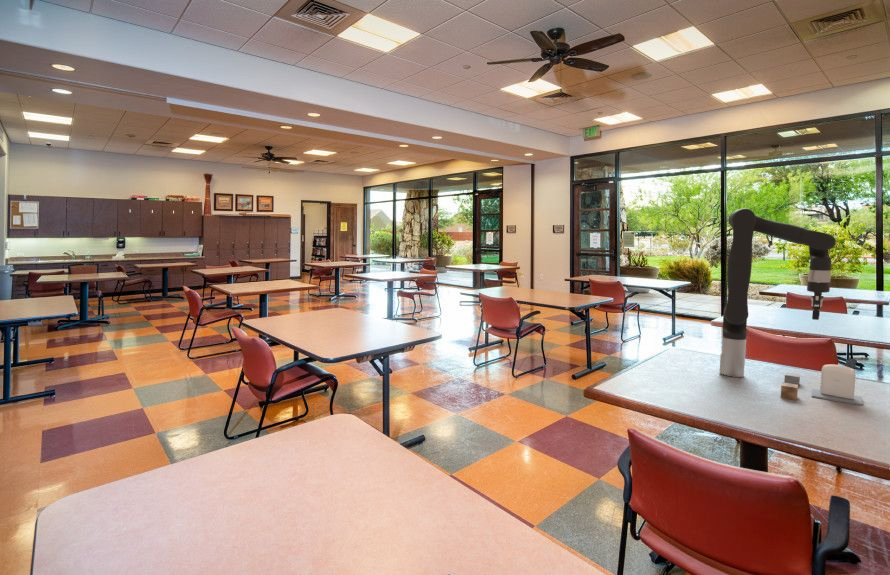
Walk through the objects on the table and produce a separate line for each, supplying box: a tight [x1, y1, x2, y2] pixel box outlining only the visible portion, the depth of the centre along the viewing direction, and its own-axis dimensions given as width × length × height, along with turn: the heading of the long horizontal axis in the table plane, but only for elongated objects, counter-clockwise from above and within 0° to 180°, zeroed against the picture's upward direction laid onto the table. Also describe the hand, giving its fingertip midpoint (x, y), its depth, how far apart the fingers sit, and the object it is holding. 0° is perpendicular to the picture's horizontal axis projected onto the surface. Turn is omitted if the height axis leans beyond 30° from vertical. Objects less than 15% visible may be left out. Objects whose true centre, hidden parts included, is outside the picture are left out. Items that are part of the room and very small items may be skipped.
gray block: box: [783, 372, 801, 387], centre depth 197 cm, size 5×4×4 cm
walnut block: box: [780, 381, 799, 401], centre depth 181 cm, size 5×5×5 cm
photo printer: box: [819, 364, 857, 399], centre depth 179 cm, size 10×4×12 cm, turn 42°
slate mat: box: [811, 388, 864, 406], centre depth 180 cm, size 15×10×1 cm, turn 51°
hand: (815, 318), depth 197 cm, fingers open, 8 cm apart
